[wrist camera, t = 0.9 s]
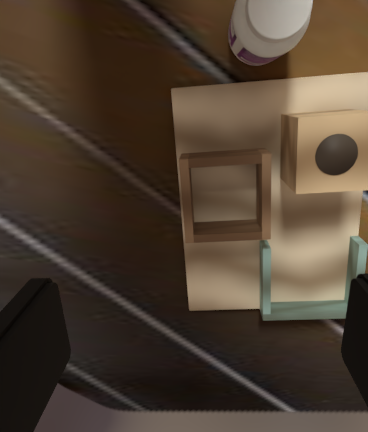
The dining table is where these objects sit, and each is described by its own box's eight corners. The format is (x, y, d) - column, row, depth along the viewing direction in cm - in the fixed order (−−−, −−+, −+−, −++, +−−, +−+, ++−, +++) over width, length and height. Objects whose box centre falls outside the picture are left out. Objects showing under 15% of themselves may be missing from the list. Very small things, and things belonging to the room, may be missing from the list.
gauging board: (171, 88, 32) (168, 87, 29) (370, 72, 30) (387, 69, 27) (189, 306, 39) (188, 322, 37) (348, 301, 38) (359, 318, 35)
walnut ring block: (181, 153, 33) (178, 159, 29) (264, 147, 32) (271, 153, 29) (187, 229, 35) (185, 243, 32) (264, 225, 35) (270, 239, 31)
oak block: (281, 114, 31) (298, 117, 25) (348, 109, 31) (381, 111, 25) (280, 177, 33) (295, 194, 27) (343, 173, 33) (372, 190, 27)
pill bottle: (301, 33, 30) (344, 5, 20) (254, 79, 31) (275, 71, 22) (261, -18, 28) (287, -72, 19) (214, 32, 30) (219, 3, 21)
